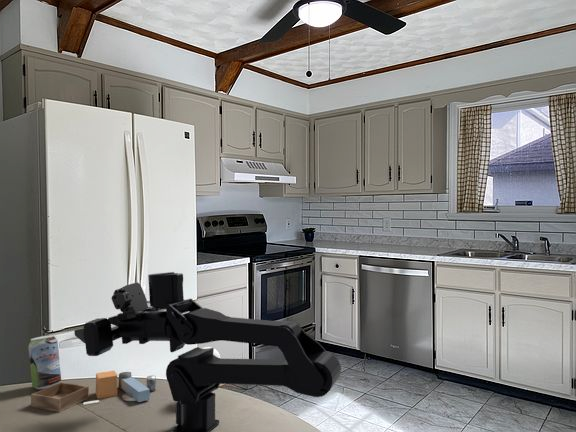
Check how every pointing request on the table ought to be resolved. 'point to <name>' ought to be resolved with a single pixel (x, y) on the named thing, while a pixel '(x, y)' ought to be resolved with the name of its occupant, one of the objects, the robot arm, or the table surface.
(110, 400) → the table surface
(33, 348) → the printed food package
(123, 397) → the plate
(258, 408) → the table surface
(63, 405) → the tray
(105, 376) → the block
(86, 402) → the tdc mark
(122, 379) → the crank
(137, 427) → the table surface
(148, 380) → the post
